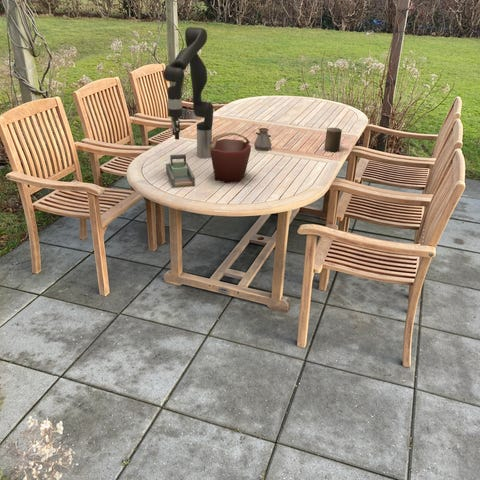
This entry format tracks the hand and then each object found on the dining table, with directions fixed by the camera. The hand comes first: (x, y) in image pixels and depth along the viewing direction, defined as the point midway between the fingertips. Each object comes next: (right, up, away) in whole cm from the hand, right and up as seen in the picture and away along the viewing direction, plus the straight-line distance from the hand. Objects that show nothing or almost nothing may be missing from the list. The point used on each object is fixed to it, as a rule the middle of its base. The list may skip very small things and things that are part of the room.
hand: (175, 136), depth 272 cm
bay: (+2, -22, +7) cm, 23 cm away
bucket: (+28, -20, +11) cm, 37 cm away
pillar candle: (+95, +3, +57) cm, 111 cm away
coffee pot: (+48, +1, +51) cm, 70 cm away
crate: (0, -18, +10) cm, 21 cm away
